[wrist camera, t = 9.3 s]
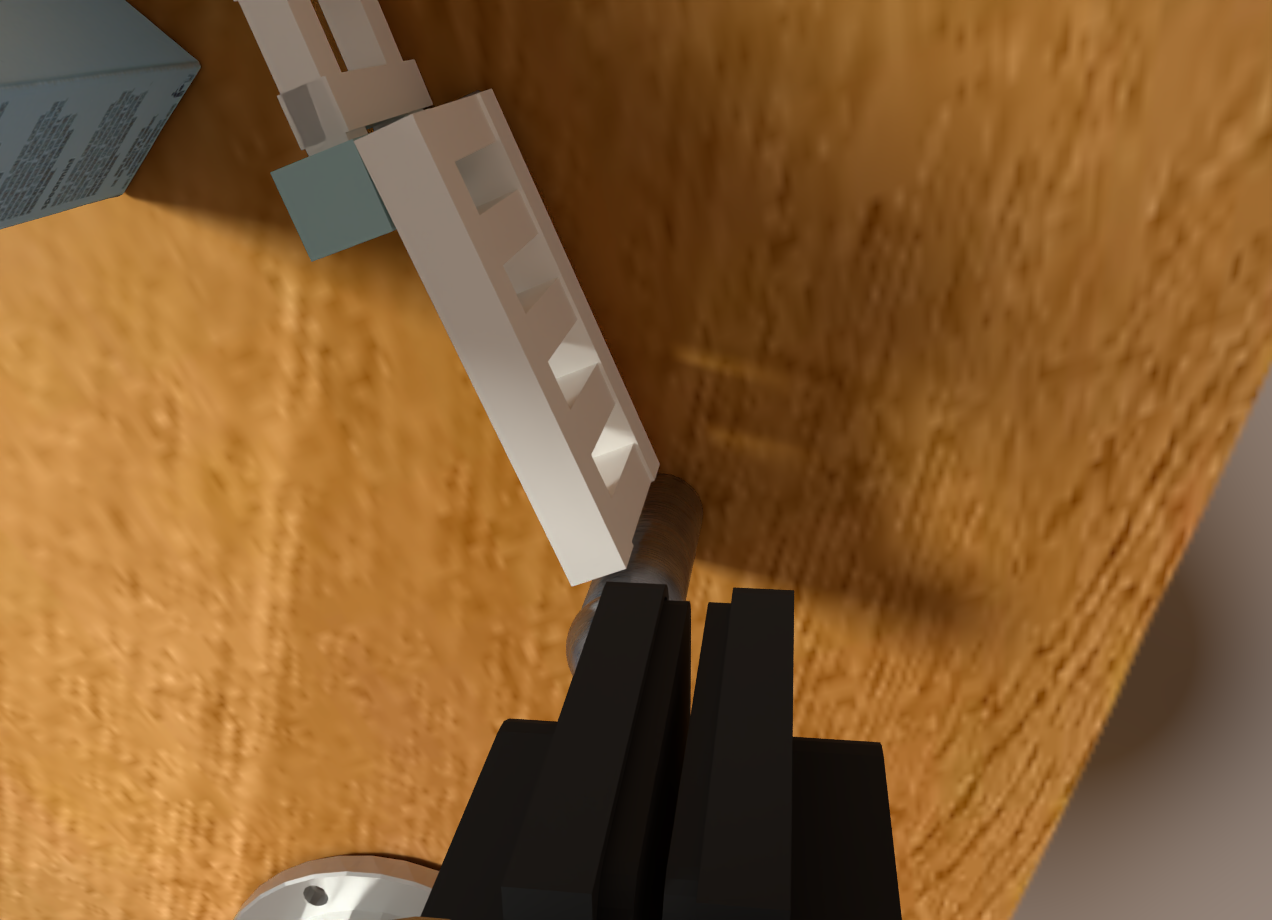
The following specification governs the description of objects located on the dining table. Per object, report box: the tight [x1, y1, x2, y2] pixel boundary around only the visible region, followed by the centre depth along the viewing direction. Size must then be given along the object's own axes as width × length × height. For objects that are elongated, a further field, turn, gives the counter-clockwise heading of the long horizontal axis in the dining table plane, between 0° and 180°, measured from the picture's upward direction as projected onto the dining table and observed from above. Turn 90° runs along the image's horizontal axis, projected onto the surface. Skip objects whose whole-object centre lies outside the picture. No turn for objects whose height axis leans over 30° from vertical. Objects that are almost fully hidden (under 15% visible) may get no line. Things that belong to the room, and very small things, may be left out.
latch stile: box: [270, 133, 396, 262], centre depth 28 cm, size 2×2×7 cm
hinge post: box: [566, 474, 703, 675], centre depth 30 cm, size 3×3×9 cm
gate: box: [354, 89, 660, 586], centre depth 29 cm, size 11×1×7 cm, turn 23°
